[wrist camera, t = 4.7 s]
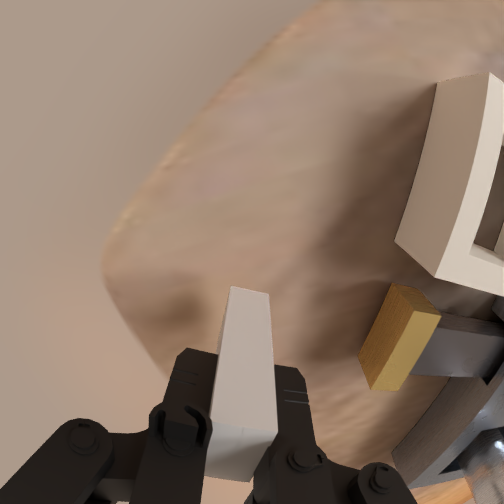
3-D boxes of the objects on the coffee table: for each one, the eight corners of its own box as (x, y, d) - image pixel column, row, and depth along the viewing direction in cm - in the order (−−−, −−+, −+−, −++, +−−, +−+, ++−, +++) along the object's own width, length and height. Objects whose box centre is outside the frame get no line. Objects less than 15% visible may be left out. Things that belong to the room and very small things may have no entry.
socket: (502, 284, 14) (540, 317, 11) (561, 304, 15) (589, 329, 11) (391, 452, 20) (403, 489, 16) (467, 443, 21) (481, 471, 17)
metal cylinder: (460, 399, 18) (529, 539, 5) (489, 397, 18) (556, 517, 5) (432, 433, 19) (483, 566, 6) (463, 430, 20) (515, 546, 6)
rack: (437, 82, 11) (489, 72, 7) (535, 148, 11) (583, 159, 8) (394, 241, 14) (434, 277, 10) (496, 274, 14) (537, 306, 10)
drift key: (391, 282, 14) (414, 310, 11) (534, 316, 15) (554, 335, 12) (357, 355, 15) (370, 389, 13) (505, 367, 16) (521, 388, 14)
